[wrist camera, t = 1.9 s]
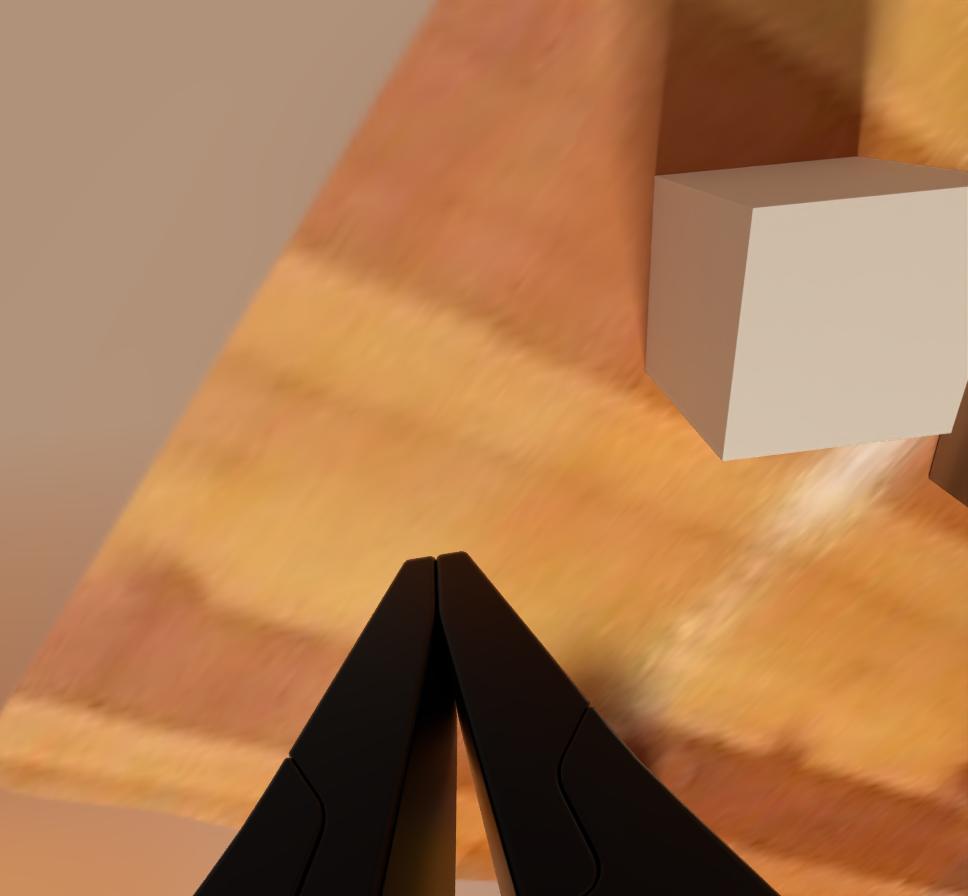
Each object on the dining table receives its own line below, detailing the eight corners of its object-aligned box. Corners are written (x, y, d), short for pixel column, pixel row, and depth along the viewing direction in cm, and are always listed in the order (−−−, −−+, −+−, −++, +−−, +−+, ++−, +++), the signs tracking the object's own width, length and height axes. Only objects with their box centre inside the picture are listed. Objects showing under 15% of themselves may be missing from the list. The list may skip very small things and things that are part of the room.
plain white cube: (855, 155, 19) (1032, 179, 13) (818, 350, 22) (952, 433, 16) (652, 175, 18) (753, 208, 13) (643, 371, 21) (722, 462, 16)
